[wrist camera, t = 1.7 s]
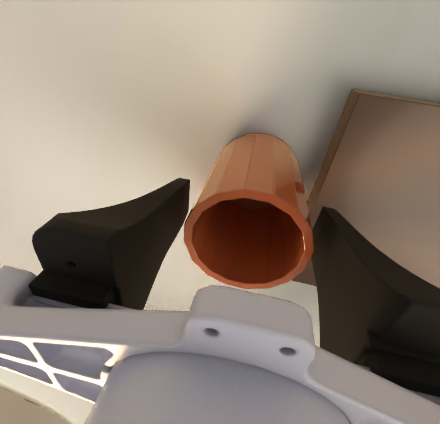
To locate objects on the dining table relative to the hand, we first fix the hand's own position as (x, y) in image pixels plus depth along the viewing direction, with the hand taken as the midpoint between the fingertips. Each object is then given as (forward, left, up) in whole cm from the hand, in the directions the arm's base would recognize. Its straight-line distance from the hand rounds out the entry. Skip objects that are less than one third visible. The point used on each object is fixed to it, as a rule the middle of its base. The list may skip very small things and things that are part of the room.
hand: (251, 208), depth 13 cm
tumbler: (0, 0, -4) cm, 4 cm away
